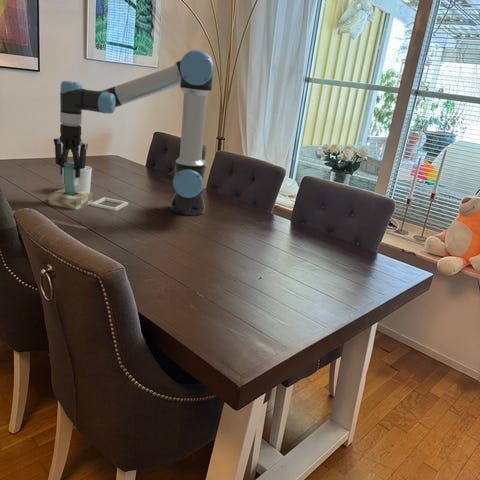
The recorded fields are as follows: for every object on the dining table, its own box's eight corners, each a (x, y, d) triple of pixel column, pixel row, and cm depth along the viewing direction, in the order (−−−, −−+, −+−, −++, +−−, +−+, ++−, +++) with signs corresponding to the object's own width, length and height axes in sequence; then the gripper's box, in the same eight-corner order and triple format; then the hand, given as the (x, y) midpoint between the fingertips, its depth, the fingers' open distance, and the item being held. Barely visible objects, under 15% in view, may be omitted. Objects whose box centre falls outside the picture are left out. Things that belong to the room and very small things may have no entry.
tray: (127, 206, 189) (128, 202, 188) (115, 213, 179) (115, 208, 178) (104, 201, 191) (104, 197, 190) (90, 207, 181) (90, 203, 180)
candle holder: (76, 198, 190) (76, 170, 185) (62, 192, 195) (63, 165, 191) (95, 195, 197) (96, 169, 193) (82, 190, 202) (83, 164, 198)
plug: (78, 197, 181) (79, 163, 176) (72, 200, 176) (72, 165, 172) (68, 195, 182) (68, 161, 177) (61, 197, 177) (61, 163, 172)
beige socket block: (92, 204, 185) (92, 193, 183) (76, 212, 174) (76, 199, 172) (66, 199, 187) (66, 187, 185) (48, 206, 176) (48, 193, 174)
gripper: (96, 127, 171) (94, 186, 179) (56, 120, 174) (56, 178, 182) (85, 128, 164) (84, 190, 172) (44, 121, 167) (45, 182, 175)
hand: (70, 184), depth 177 cm, fingers closed on plug, 4 cm apart
